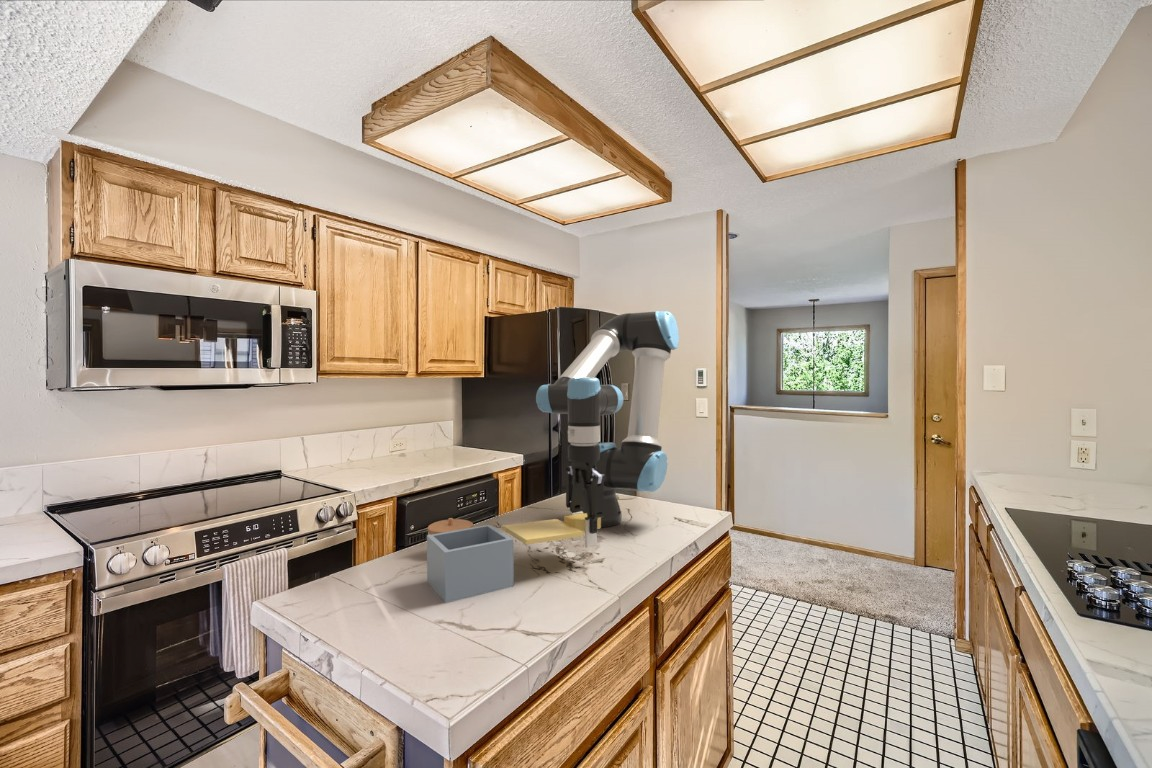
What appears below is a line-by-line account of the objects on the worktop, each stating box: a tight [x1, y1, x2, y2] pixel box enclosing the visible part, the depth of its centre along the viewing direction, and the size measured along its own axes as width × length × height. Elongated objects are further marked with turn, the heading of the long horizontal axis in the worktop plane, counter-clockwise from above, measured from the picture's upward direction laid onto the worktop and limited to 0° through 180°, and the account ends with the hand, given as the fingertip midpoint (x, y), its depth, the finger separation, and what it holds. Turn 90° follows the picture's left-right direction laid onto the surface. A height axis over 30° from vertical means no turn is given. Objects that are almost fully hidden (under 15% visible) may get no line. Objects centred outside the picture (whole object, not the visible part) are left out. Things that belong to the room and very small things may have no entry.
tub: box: [426, 524, 515, 604], centre depth 104 cm, size 14×12×11 cm
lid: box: [501, 513, 602, 546], centre depth 115 cm, size 21×12×2 cm, turn 122°
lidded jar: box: [427, 517, 474, 535], centre depth 124 cm, size 11×11×9 cm
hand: (584, 542), depth 119 cm, fingers closed on lid, 5 cm apart
